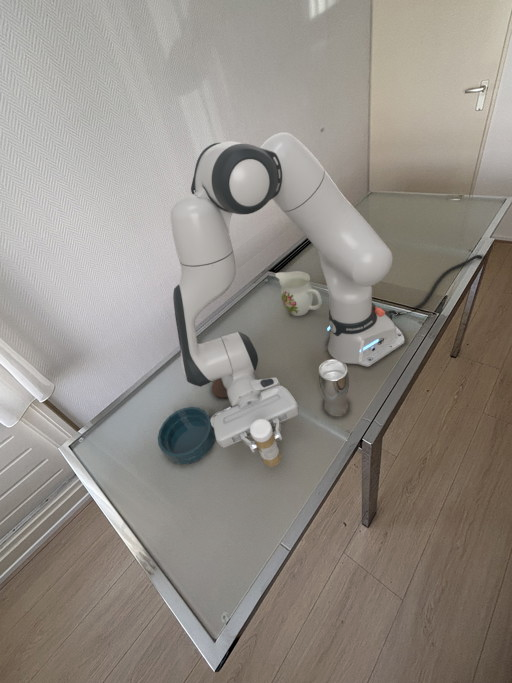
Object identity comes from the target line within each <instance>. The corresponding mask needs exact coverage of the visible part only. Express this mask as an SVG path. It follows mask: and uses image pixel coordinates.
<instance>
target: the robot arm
mask: <svg viewBox="0 0 512 683" xmlns="http://www.w3.org/2000/svg"><path fill="white" fill-rule="evenodd" d="M194 168H195V169H194V173H193V177H192V182H191V186H190V192H191V194H189V195H187V196H184V197H182V198H181V199H179V200H178V201H177V202H176V203H175V204H174V205H173V206H172V209H171V211H170V225H171V231H172V232H171V233H172V238H173V243H174V247H175V251H176V254H177V259H178V262H179V265H180V270H181V272H180V273H181V274H180V279H179V282H178V284H177V285H176V286H175V287H174V289H173V293H172V294H173V295H172V296H173V297H172V301H173V308H174V309H173V310H174V318H175V324H176V329H177V330H176V331H177V337H178V343H179V348H180V369H181V373H182V375H183V377H184V379H185V380H186V381H187V383H188V384H192V385H194V386H197V387H200V388H201V387H203V386H206V385H207V384H210V383H212V382H215V380H216V379H219V378H221V379H222V382H223V385H224V387H225V388H226V389H227V396H228V398H227V399H228V401H229V404H230V405H229V406H226V407H224V408H223V409H221V410H217V411H216V412H214V414H213V415H211V417H210V418H211V419H210V422H211V425H212V427H213V428H214V432H215V441H216V442H217V444H218V445H219V446H220V447H221V448H224V449H225V448H228V447H230V446H232V445H234V444H236V443H238V442H239V443H240V442H241V441H242V442H243V443H244V444H245V445H246V446H248V447H249V448H250V451H251V453H252V454H254V453H255V452H259V449H258V447H257V445H256V443H255V440H254V439H253V440H250V439H249V438H250V437H252V435H251V433H250V427H251V425H252V423H253V422H254V421H256V420H258V419H265V420H267V421H269V423H270V424H271V426H272V427H274V428H275V429H274V431H273V435H274V437H275V440H276V443H278V442H280V441H282V440H283V437H282V435H281V429H282V424H281V423H283V422H285V421H287V420H289V419H292V418H294V417H296V416H298V415H299V411H300V409H299V405H298V402H297V400H296V399H295V398H294V396H293V395H292V393H291V392H290V391H289V390H288V388H286V387H285V386H283V385H281V383H280V381H279V379H278V378H277V377H269V378H262V379H257V378H256V373H255V372H256V370H257V367H258V364H259V357H258V352H257V350H256V348H255V346H254V344H253V342H252V340H251V339H250V337H249V336H248V335H247V334H245V333H243V332H241V331H236V332H232V333H229V334H225V335H222V336H220V337H217V338H214V339H211V340H208V341H205V342H202V343H199V342H198V340H197V331H196V319H197V317H198V316H199V314H200V313H202V312H203V311H204V309H206V308H207V307H209V305H210V304H212V303H213V302H215V301H217V299H219V298H220V297H222V296H223V295H224V294H225V293H226V292H227V291H228V290H229V289H230V287H231V286H232V284H233V282H234V280H235V278H236V275H237V274H236V273H237V268H236V258H235V257H236V256H235V252H234V248H233V243H232V240H231V235H230V223H231V218H232V216H233V214H235V215H251V214H254V213H257V212H258V211H260V210H261V209H262V208H264V207H265V206H266V205H267V204H268V203H269V202H270V201H271V200H273V202H274V203H275V204H276V205H277V206H278V208H279V209H280V211H282V212H283V214H284V215H285V216H286V217H287V218H288V219H289V220H290V221H291V222H292V223H293V224H294V225H295V227H296V228H297V229H298V230H299V231H300V232H301V234H303V235H304V236H305V237H306V239H307V240H309V242H310V243H311V244H312V245H313V246H314V247H315V248H316V251H317V253H318V257H319V261H320V266H321V269H322V273H323V277H324V280H325V283H326V287H327V293H328V300H329V310H328V320H329V322H328V325H329V326H328V327H327V328H326V330H327V332H329V331H330V333H329V334H330V336H329V340H328V342H327V351H328V354H329V355H330V356H331V357H332V358H333V359H335V360H340V361H342V362H343V363H345V364H351V365H353V364H354V365H359V366H363V367H365V368H366V367H367V368H368V367H371V366H372V365H374V364H375V363H378V361H380V360H381V359H383V358H384V357H386V356H387V355H389V354H390V353H392V352H393V351H395V350H397V349H398V348H399V347H401V346H402V345H404V344H405V336H404V334H403V333H402V331H401V329H400V328H399V327H398V326H396V325H395V322H393V315H394V314H397V313H396V312H397V311H395V310H394V309H393V310H392V309H391V310H385V309H382V308H381V307H377V305H376V304H375V303H374V302H373V286H374V285H376V284H378V283H379V282H381V281H382V280H384V279H385V278H386V277H387V275H388V274H389V273H390V271H391V269H392V265H393V261H394V257H393V256H394V255H393V253H392V251H391V250H390V248H389V246H387V244H386V243H385V242H384V241H383V239H382V238H381V237H380V236H379V234H378V233H377V232H376V231H375V229H374V228H373V227H372V226H371V225H370V223H369V222H368V221H367V220H366V219H365V218H364V217H363V216H362V214H360V212H359V211H358V209H356V208H355V207H354V206H353V204H351V202H350V201H349V200H348V199H347V198H346V197H345V196H344V194H343V193H342V192H341V190H340V189H339V187H338V186H337V184H336V183H335V182H334V181H333V179H332V177H331V176H330V175H329V173H328V172H327V171H326V169H325V167H324V166H323V165H322V164H321V163H320V161H319V160H318V158H316V156H315V155H314V154H313V153H312V152H311V151H310V150H309V148H308V147H307V146H306V145H304V144H303V142H301V141H300V140H299V139H298V138H297V137H295V135H293V134H291V133H289V132H285V131H284V132H278V133H275V134H273V135H271V136H270V137H268V138H267V139H266V140H265V141H264V142H263V143H262V145H261V146H260V147H259V146H256V145H253V144H250V143H242V142H239V141H232V140H231V141H230V140H228V141H223V142H214V143H212V144H210V145H208V146H207V147H205V148H204V149H203V150H202V151H201V153H200V154H199V156H198V158H197V161H196V162H195V166H194ZM482 258H483V255H482V254H481V255H480V254H477V255H473V256H472V257H470V258H469V259H467V260H464V261H463V262H461V263H459V264H456V265H453V266H451V267H450V268H448V269H447V270H445V271H444V272H443V273H442V274H441V275H440V276H439V277H438V278H437V280H436V281H435V283H434V284H433V286H432V287H431V289H430V291H429V292H428V293H427V295H426V297H425V298H424V300H423V301H422V302H420V303H419V304H417V305H416V306H414V307H413V308H418V309H420V308H422V307H423V306H425V305H426V304H427V302H428V301H429V299H430V297H431V296H432V295H433V293H434V292H435V290H436V288H437V286H438V285H439V283H440V282H441V281H442V279H443V278H444V277H445V276H446V275H448V274H450V272H452V271H454V270H456V269H458V268H460V267H463V266H465V265H468V264H469V263H470V262H473V261H474V260H475V259H476V260H477V259H482ZM396 316H403V314H400V313H398V314H397V315H396Z"/></svg>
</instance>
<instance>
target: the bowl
mask: <svg viewBox="0 0 512 683" xmlns="http://www.w3.org/2000/svg"><path fill="white" fill-rule="evenodd" d="M210 419H211V417H210V415H209V414H208V413H207V411H206V410H204V409H203V408H201V407H199V406H198V407H197V406H187V407H183V408H180V409H179V410H175V411H174V412H173V413H172V414H170V415H169V416H168V417H167V418H166V419H165V420H164V421H163V422H162V424H161V426H160V429H159V430H158V434H157V444H158V447H159V449H160V451H161V452H162V453H163V455H164V456H165V457H166V458H167V459H168V460H169V461H170V462H172V463H174V464H176V465H181V466H183V465H191V464H193V463H196V462H198V461H200V460H201V459H203V458H204V457H205V456H206V455H207V454H208V453H209V451H211V449H212V448H213V445H214V443H215V441H216V437H215V432H214V428H213V427H212V425H211V422H210Z"/></svg>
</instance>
